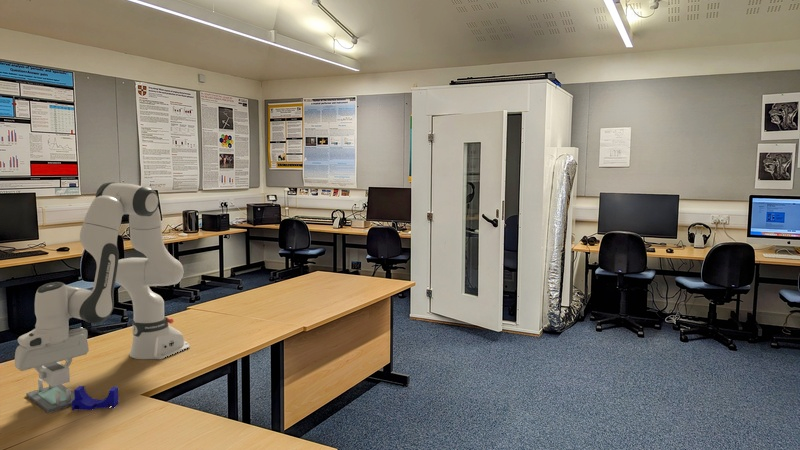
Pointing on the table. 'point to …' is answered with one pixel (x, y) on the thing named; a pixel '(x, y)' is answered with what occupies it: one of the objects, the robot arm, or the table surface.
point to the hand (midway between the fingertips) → (54, 374)
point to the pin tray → (52, 397)
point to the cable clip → (93, 400)
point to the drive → (56, 374)
